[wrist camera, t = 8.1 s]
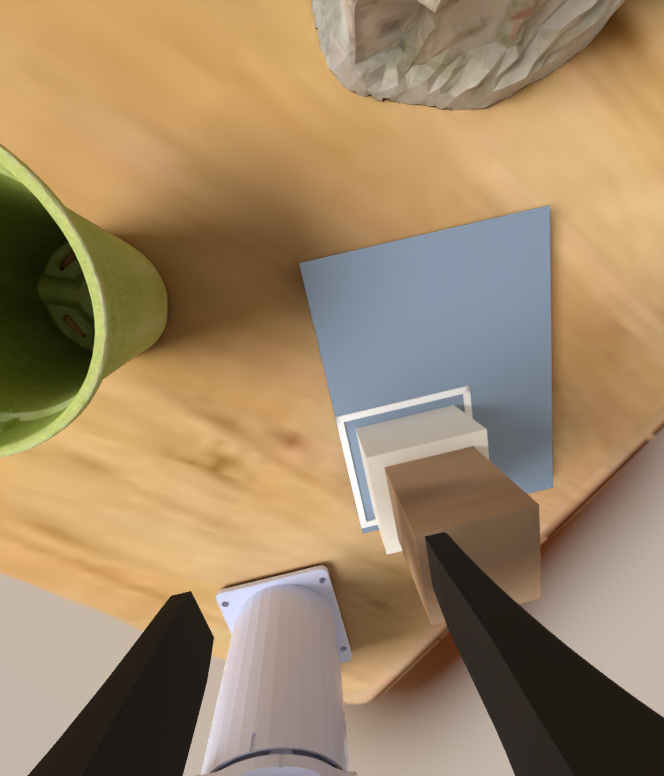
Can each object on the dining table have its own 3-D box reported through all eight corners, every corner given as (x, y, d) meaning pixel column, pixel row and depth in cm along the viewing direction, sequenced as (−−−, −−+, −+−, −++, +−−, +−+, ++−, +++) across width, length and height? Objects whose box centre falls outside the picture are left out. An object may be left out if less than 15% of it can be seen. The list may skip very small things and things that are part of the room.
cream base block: (463, 489, 20) (494, 528, 17) (373, 511, 20) (386, 554, 17) (453, 405, 18) (486, 429, 15) (355, 428, 18) (366, 457, 15)
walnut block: (480, 520, 17) (541, 598, 12) (398, 540, 16) (430, 625, 12) (473, 445, 15) (538, 504, 11) (384, 467, 15) (415, 535, 11)
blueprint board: (542, 479, 22) (554, 488, 21) (360, 522, 21) (363, 534, 20) (535, 210, 17) (551, 204, 16) (299, 265, 16) (298, 262, 15)
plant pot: (101, 151, 14) (-179, -47, 6) (240, 314, 17) (176, 330, 9) (-31, 280, 16) (-419, 261, 7) (119, 416, 18) (-41, 517, 10)
